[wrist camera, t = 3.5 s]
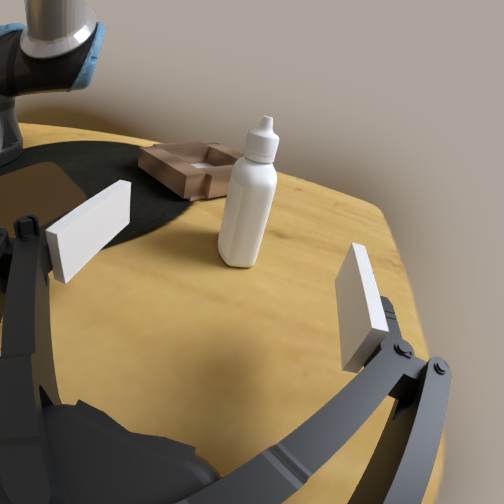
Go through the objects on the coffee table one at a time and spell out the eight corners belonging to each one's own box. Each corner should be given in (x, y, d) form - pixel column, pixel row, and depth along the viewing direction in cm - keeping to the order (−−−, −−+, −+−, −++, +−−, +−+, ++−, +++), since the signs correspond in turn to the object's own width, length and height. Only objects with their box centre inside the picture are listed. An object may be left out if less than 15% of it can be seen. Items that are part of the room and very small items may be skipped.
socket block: (134, 167, 39) (136, 145, 37) (209, 159, 48) (212, 141, 47) (188, 206, 32) (191, 179, 30) (270, 190, 41) (275, 169, 40)
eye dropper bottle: (200, 256, 25) (226, 111, 18) (226, 230, 29) (253, 109, 23) (248, 275, 24) (288, 127, 18) (267, 245, 29) (302, 123, 22)
